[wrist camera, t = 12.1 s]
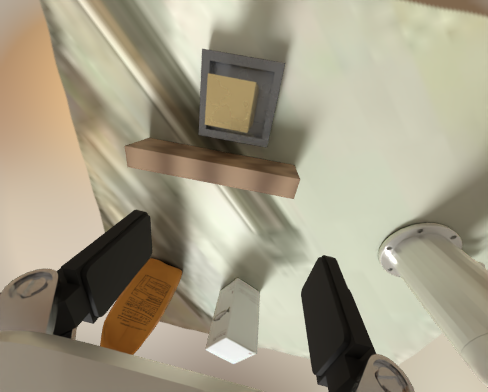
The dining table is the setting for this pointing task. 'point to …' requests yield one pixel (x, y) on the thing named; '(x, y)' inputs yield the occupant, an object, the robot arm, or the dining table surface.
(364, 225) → the dining table surface
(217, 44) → the dining table surface
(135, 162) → the brown plank
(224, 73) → the grey square tray
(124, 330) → the coffee package
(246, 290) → the supplement box
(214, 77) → the block
